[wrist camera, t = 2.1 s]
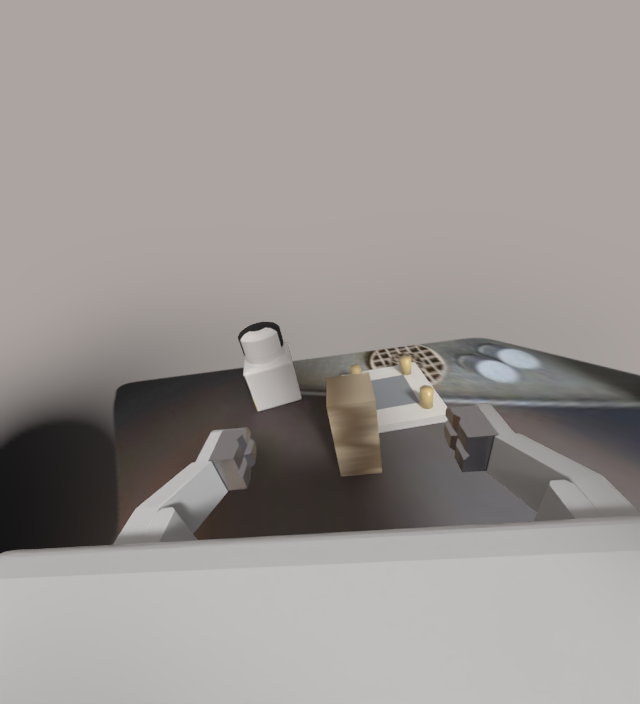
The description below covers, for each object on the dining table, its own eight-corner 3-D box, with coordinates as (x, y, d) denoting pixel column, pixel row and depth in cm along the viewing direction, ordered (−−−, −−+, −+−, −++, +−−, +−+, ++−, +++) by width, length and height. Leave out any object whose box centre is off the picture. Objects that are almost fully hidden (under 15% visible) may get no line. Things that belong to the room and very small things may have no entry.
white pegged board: (414, 368, 43) (414, 348, 41) (451, 420, 32) (453, 397, 30) (341, 381, 43) (338, 362, 41) (354, 437, 33) (351, 415, 31)
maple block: (375, 440, 32) (368, 372, 27) (382, 472, 28) (375, 400, 23) (339, 443, 32) (326, 377, 27) (341, 476, 28) (326, 406, 24)
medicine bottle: (256, 386, 46) (234, 324, 40) (295, 376, 47) (279, 313, 41) (257, 413, 40) (230, 344, 34) (302, 400, 41) (284, 330, 35)
